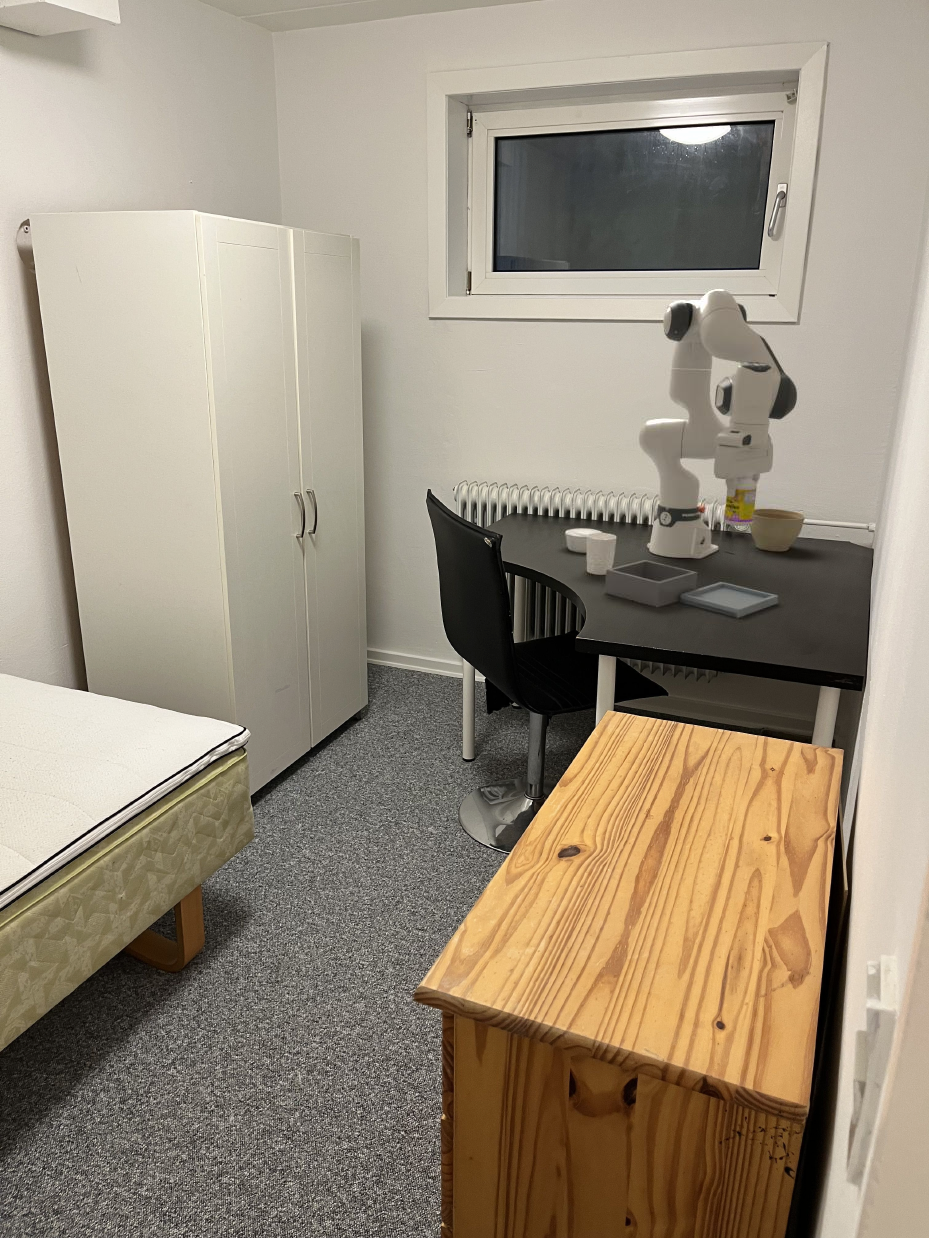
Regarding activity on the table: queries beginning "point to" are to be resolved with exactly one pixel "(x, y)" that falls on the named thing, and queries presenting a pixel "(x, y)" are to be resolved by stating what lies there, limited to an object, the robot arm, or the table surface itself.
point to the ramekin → (578, 539)
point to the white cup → (600, 552)
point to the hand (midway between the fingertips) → (741, 494)
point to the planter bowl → (775, 528)
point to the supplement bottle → (742, 502)
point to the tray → (729, 599)
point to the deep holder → (650, 582)
